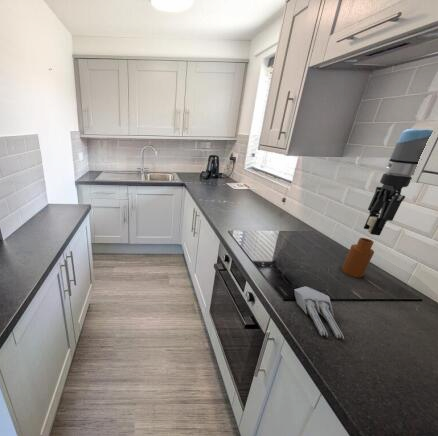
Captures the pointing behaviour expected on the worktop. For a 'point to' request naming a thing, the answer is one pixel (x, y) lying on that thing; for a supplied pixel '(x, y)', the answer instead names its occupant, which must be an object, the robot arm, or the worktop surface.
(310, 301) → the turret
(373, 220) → the bung
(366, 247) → the bottle
